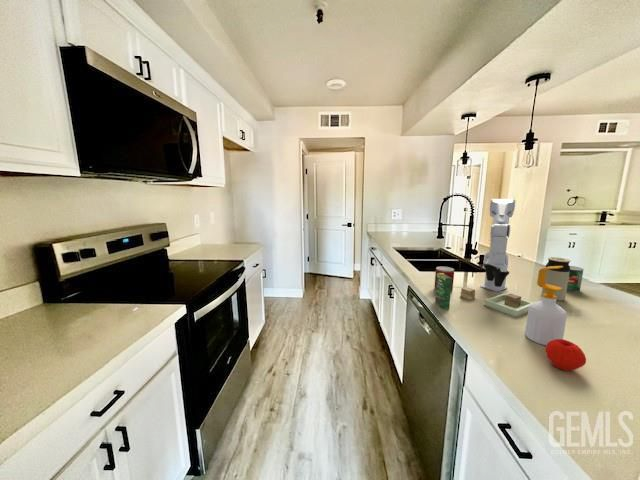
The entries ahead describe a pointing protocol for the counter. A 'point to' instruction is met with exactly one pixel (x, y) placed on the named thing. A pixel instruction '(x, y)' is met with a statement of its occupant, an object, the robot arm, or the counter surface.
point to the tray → (499, 305)
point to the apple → (565, 354)
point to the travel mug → (557, 276)
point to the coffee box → (443, 290)
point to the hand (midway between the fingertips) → (493, 283)
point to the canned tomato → (574, 279)
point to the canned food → (446, 271)
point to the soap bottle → (546, 314)
